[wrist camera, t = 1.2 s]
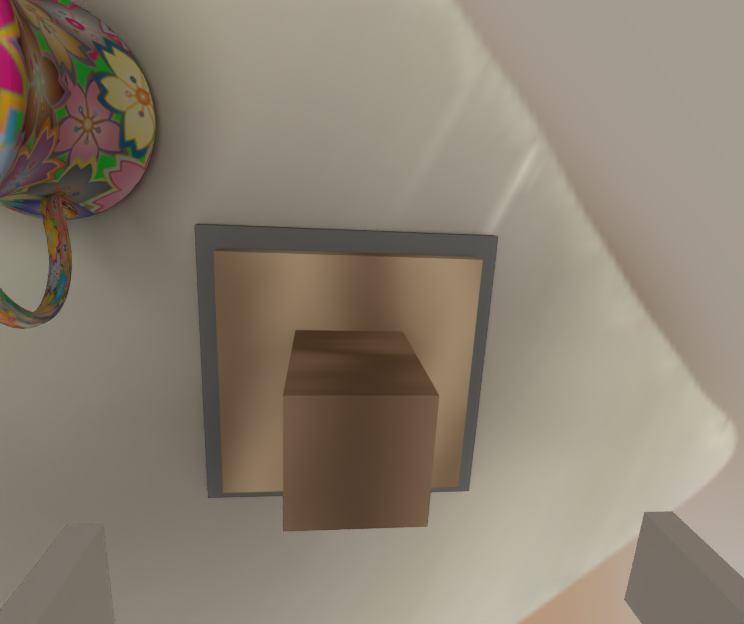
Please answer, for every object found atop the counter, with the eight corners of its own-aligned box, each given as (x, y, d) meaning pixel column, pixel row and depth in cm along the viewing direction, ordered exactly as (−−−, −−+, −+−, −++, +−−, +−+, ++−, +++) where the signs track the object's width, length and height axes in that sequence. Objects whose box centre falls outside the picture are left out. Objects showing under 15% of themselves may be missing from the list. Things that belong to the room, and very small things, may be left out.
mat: (210, 490, 24) (208, 497, 24) (197, 223, 21) (194, 224, 20) (465, 484, 26) (469, 491, 25) (493, 235, 23) (498, 236, 22)
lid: (227, 480, 24) (181, 619, 16) (218, 248, 21) (157, 282, 13) (453, 475, 25) (510, 601, 17) (475, 256, 22) (557, 292, 14)
